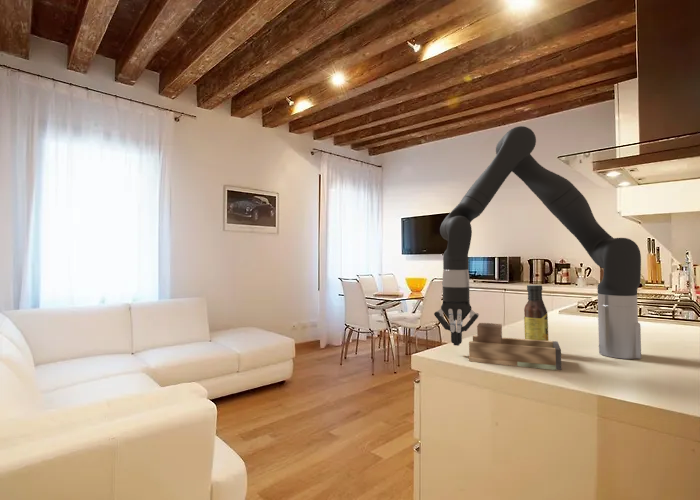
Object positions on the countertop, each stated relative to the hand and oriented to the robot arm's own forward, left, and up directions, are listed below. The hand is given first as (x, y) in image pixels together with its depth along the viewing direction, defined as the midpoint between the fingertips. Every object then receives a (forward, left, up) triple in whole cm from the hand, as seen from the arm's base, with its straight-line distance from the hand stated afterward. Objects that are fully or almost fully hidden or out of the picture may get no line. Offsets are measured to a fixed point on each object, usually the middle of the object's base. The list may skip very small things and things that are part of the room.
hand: (456, 344), depth 109 cm
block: (-9, 0, -2) cm, 9 cm away
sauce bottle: (-21, -11, -3) cm, 24 cm away
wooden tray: (-15, 0, -3) cm, 15 cm away
